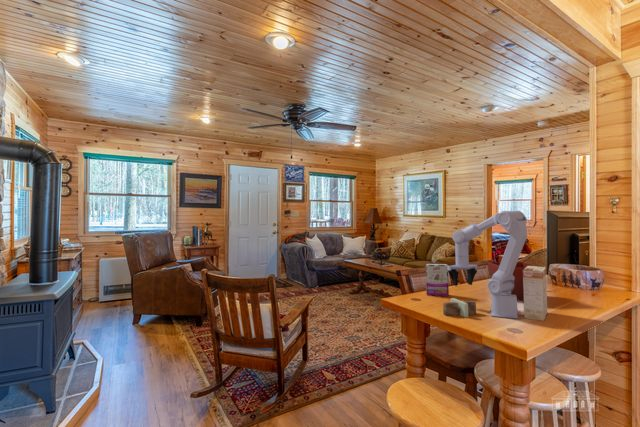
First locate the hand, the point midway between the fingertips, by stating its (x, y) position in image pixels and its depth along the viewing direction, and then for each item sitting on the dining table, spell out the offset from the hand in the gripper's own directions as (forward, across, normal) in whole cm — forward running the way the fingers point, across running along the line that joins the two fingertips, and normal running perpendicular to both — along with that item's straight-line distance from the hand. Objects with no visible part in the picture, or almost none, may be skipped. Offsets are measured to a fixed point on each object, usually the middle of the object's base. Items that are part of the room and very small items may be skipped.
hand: (462, 285), depth 154 cm
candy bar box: (+10, +1, -21) cm, 23 cm away
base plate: (+9, +10, +12) cm, 19 cm away
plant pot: (+10, -34, -7) cm, 36 cm away
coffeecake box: (+10, -20, +21) cm, 30 cm away
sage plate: (+9, +10, +12) cm, 18 cm away
